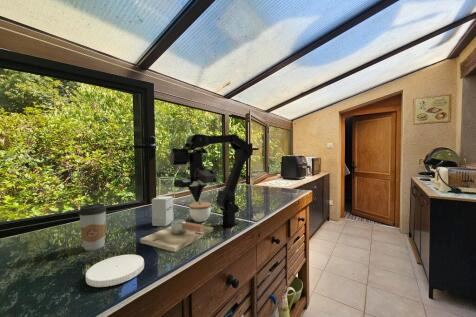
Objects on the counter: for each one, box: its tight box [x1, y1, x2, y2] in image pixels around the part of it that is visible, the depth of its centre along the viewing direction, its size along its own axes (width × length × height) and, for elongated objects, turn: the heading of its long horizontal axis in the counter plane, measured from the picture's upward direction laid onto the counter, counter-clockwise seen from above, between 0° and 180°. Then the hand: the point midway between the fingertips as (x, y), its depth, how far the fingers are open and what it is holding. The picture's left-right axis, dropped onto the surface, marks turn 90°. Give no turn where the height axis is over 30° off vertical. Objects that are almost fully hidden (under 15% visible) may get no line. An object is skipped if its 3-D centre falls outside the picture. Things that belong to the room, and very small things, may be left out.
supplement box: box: [151, 195, 174, 227], centre depth 103 cm, size 7×7×13 cm
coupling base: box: [139, 225, 214, 253], centre depth 86 cm, size 22×18×2 cm
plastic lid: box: [85, 254, 145, 288], centre depth 60 cm, size 14×14×2 cm
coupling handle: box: [170, 218, 205, 235], centre depth 84 cm, size 15×6×4 cm, turn 60°
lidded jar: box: [188, 200, 212, 223], centre depth 108 cm, size 11×11×9 cm
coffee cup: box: [78, 203, 107, 252], centre depth 78 cm, size 8×8×15 cm
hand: (197, 201), depth 90 cm, fingers closed
